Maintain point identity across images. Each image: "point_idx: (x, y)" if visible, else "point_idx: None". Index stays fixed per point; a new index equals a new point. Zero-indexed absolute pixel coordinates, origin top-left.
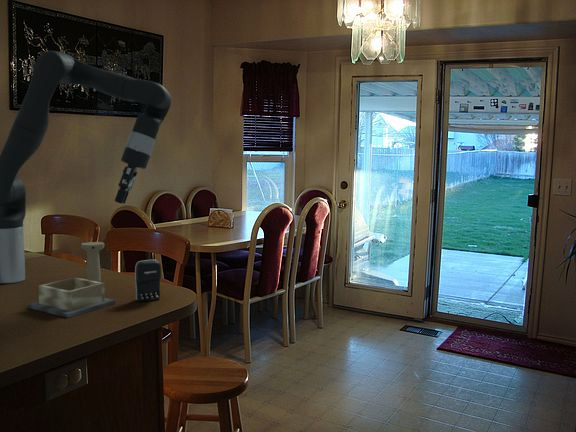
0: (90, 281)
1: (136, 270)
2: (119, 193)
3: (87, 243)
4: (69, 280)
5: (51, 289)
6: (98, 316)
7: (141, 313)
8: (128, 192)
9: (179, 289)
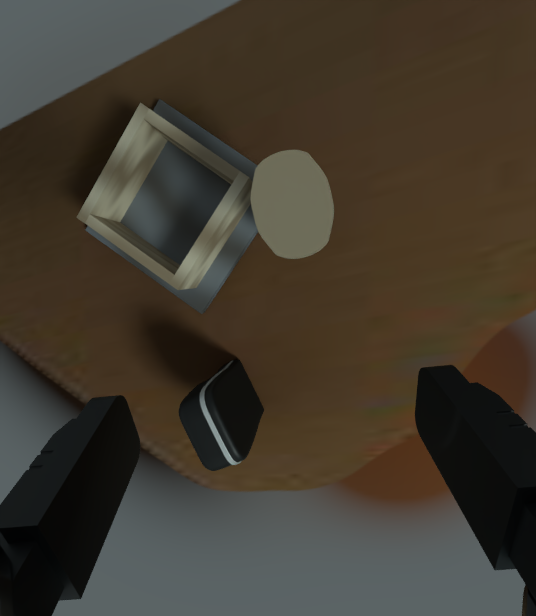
0: (194, 244)
1: (201, 388)
2: (17, 498)
3: (296, 177)
4: (219, 171)
5: (113, 155)
6: (105, 295)
7: (129, 385)
8: (491, 560)
9: (346, 461)
